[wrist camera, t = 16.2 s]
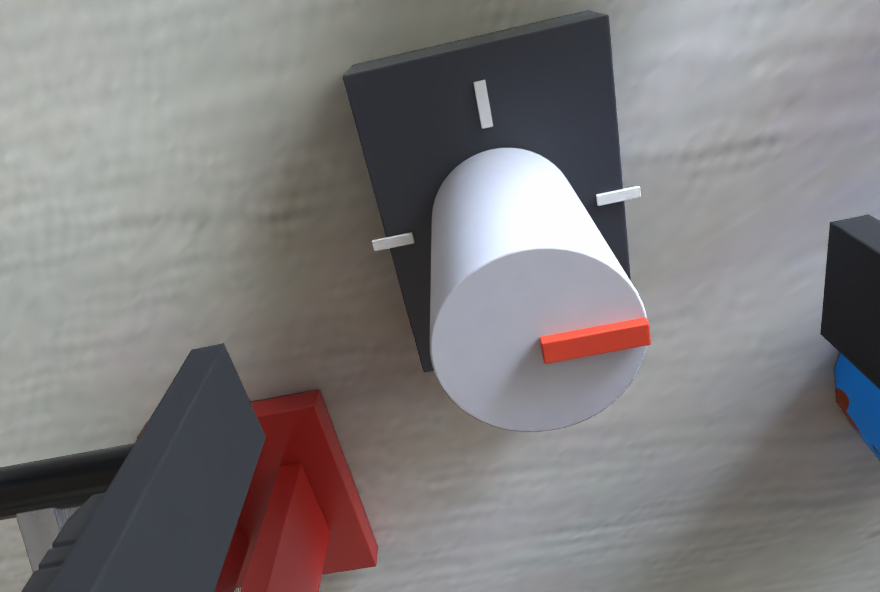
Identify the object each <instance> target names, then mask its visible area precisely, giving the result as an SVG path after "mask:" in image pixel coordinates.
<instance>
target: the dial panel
mask: <svg viewBox="0 0 880 592" xmlns="http://www.w3.org/2000/svg"><path fill="white" fill-rule="evenodd" d="M343 81H344V84H345V88H346V91H347V95H348V99H349V102H350V106H351V110H352V113H353V117H354V121H355V124H356V128H357V132H358V135H359V139H360V142H361V146H362V150H363V153H364V157H365V161H366V164H367V168H368V172H369V175H370V179H371V183H372V186H373V190H374V193H375V197H376V201H377V204H378V208H379V212H380V215H381V219H382V223H383V226H384V230H385V234H386V238H381V239H376V240H372V245H373V249H374V251H378V250H383V249H388V248H390V252H391V255H392V259H393V263H394V266H395V270H396V274H397V277H398V281H399V285H400V288H401V292H402V295H403V299H404V303H405V306H406V310H407V314H408V317H409V321H410V325H411V328H412V332H413V336H414V339H415V343H416V346H417V350H418V354H419V357H420V361H421V365H422V368H423V371H424V372H429V371H434V369H433V366H432V361H431V356H430V296H431V236H432V211H433V205H434V201H435V198H436V195H437V193H438V190H439V188H440V187H441V185H442V183H443V182H444V180H445V179H446V178H447V176H448V175H449V174H450V173H451V172H452V171H453V170H454V169H455V168H456V167H457V166H458V165H459V164H461V163H462V162H463V161H465V160H467V159H468V158H470V157H472V156H474V155H476V154H478V153H481V152H484V151H487V150H491V149H497V148H518V149H524V150H528V151H531V152H534V153H536V154H539V155H541V156H542V157H544V158H546V159H548V160H549V161H550V162H552V163H553V164H554V165H555V166H556V167H557V168H558V169H559V170H560V171H561V172H562V173H563V175H564V176H565V177H566V179H567V180H568V182H569V183H570V185H571V187H572V188H573V190H574V191H575V193H576V195H577V196H578V198H579V199H580V201H581V203H582V204H583V206H584V207H585V209H586V211H587V212H588V214H589V215H590V217H591V219H592V220H593V222H594V223H595V225H596V227H597V228H598V230H599V231H600V233H601V235H602V236H603V238H604V239H605V241H606V243H607V244H608V246H609V248H610V249H611V251H612V252H613V254H614V256H615V257H616V259H617V260H618V262H619V264H620V265H621V267H622V268H623V270H624V272H625V273H626V275H627V276H628V278H629V280H630V281H631V279H630V266H629V254H628V242H627V230H626V218H625V206H624V201H625V200H630V199H635V198H640V197H641V192H640V187H639V186H636V187H631V188H626V189H623V182H622V170H621V158H620V146H619V134H618V122H617V110H616V98H615V86H614V74H613V62H612V50H611V37H610V25H609V16H608V15H605V14H601V13H598V12H594V11H590V10H588V11H583V12H579V13H575V14H570V15H566V16H562V17H557V18H553V19H549V20H544V21H540V22H536V23H531V24H527V25H523V26H519V27H514V28H510V29H506V30H501V31H497V32H493V33H488V34H484V35H480V36H475V37H471V38H467V39H462V40H458V41H454V42H449V43H445V44H441V45H437V46H432V47H428V48H424V49H419V50H415V51H411V52H406V53H402V54H398V55H393V56H389V57H385V58H380V59H376V60H372V61H367V62H363V63H359V64H355V65H352V67H351V68H350V69H349V70H348V71H347V72H346V73H345V75H344V76H343Z"/></svg>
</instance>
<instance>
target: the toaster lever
mask: <svg viewBox="0 0 880 592" xmlns="http://www.w3.org/2000/svg"><path fill="white" fill-rule="evenodd" d="M134 444H135V443H133V444H128V445H122V446H117V447H111V448H106V449H100V450H94V451H89V452H83V453H78V454H72V455H67V456H61V457H56V458H50V459H44V460H39V461H33V462H28V463H22V464H17V465H11V466H6V467H0V520H4V519H10V518H16V517H17V520H18V524H19V527H20V530H21V534H22V537H23V540H24V544H25V547H26V551H27V554H28V557H29V561H30V564H31V567H32V571H33V573H34V571H37V570H38V569H39V566H38V565H39V564H40V562H41V560H42V559H43V557H44V556H45V554H46V553H47V551H48V550H49V549H52V543H53V542H54V540H55V539H56V537H57V535H58V534H59V532H60V531H61V529H62V528H63V526H64V525H65V523H66V521H67V520H68V518H69V517H71V516H72V515H73V514H74V513H75V512H76V511H77V510H78V509H79V508H80V507H81V506H82V505H83V504H84V503H85V502H86V501H87V500H88V499H89V498H90V497H91V496H92V495H94V494H100V493H105V492H106V491H107V489H108V488H109V486H110V484H111V483H112V481H113V479H114V478H115V476H116V474H117V473H118V471H119V469H120V468H121V466H122V464H123V463H124V461H125V459H126V458H127V456H128V454H129V453H130V451H131V449H132V448H133V446H134Z"/></svg>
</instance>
